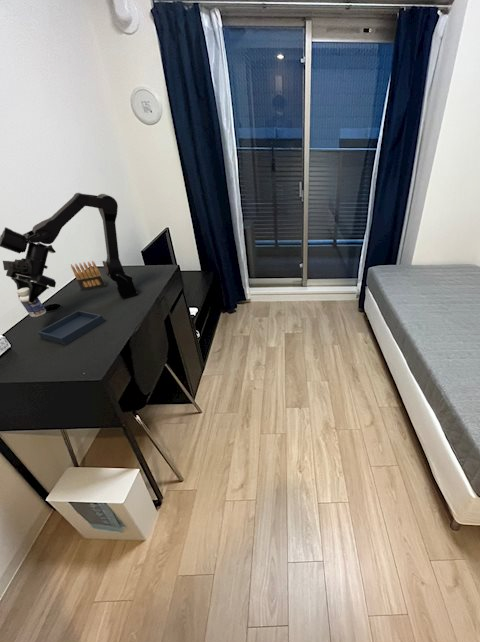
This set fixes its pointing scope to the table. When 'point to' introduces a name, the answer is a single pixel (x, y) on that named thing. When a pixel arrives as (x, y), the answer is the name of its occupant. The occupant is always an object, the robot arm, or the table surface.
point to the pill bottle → (31, 303)
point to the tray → (71, 327)
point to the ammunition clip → (88, 276)
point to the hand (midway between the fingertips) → (25, 301)
